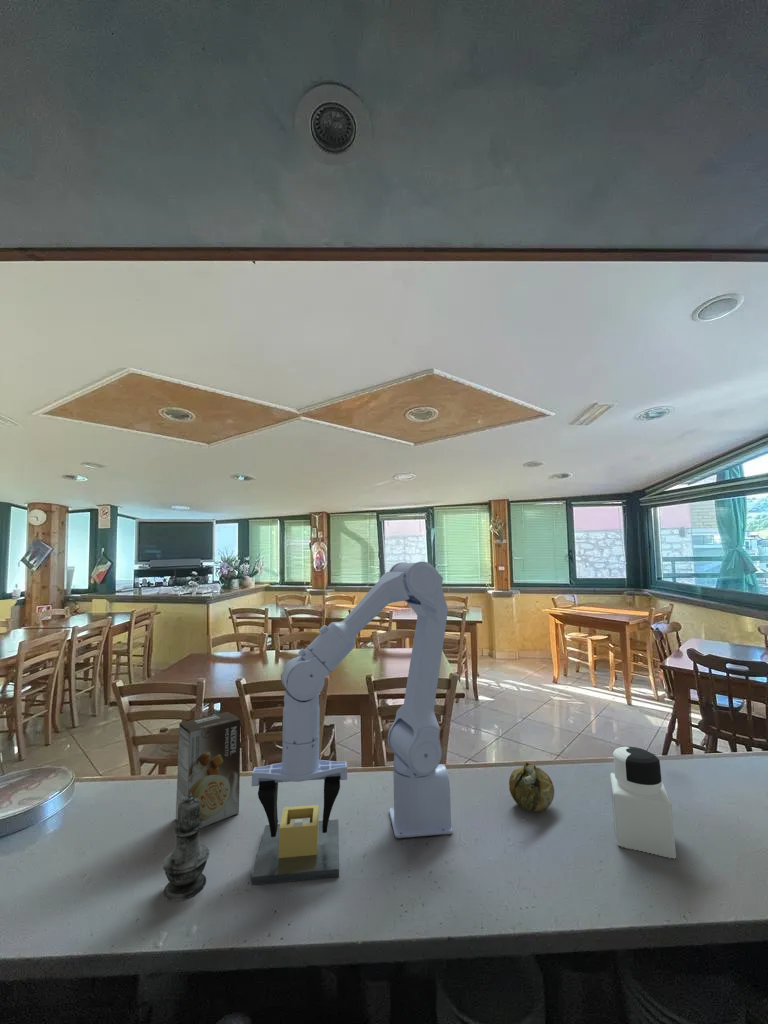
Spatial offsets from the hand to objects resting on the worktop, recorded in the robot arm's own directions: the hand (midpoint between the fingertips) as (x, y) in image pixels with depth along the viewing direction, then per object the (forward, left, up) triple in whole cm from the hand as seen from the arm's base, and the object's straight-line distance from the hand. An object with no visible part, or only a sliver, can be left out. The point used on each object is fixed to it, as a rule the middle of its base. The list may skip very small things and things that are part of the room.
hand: (299, 830), depth 65 cm
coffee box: (+17, -12, -3) cm, 21 cm away
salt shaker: (+15, +5, -3) cm, 16 cm away
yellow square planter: (0, 0, -2) cm, 2 cm away
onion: (-41, -7, -3) cm, 42 cm away
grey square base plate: (0, 0, -3) cm, 3 cm away
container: (-54, +4, -3) cm, 54 cm away
